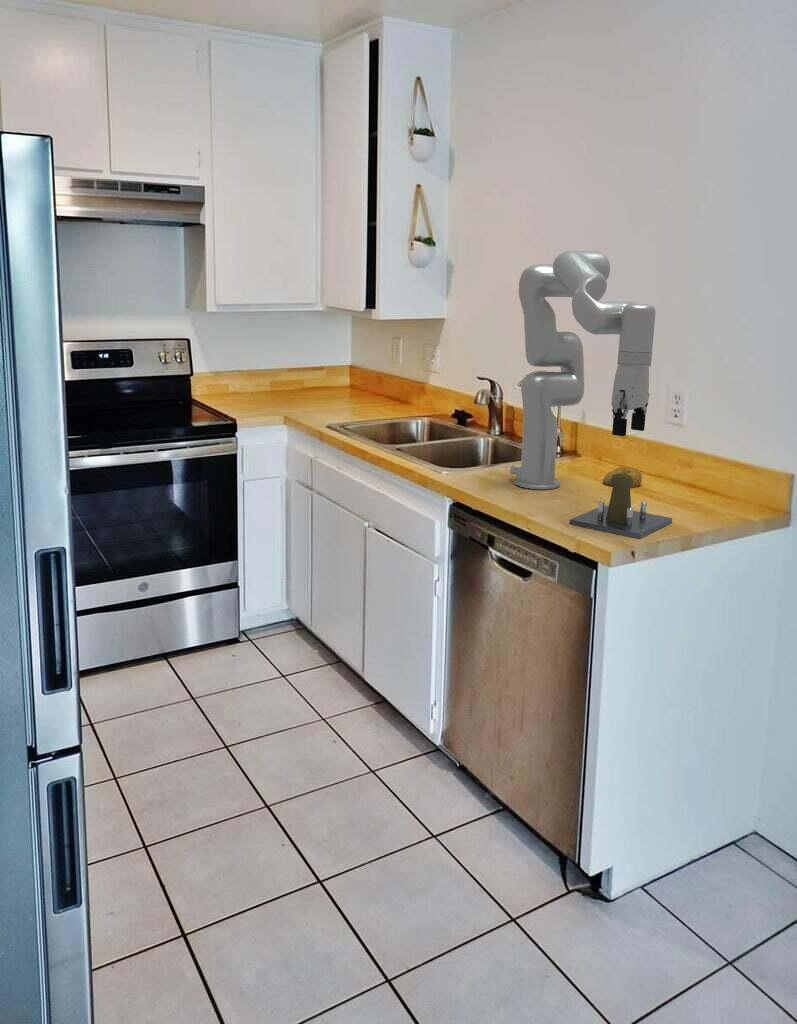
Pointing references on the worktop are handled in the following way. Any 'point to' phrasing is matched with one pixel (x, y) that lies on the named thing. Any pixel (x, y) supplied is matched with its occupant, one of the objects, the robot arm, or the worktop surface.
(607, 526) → the pin plate
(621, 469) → the bagel
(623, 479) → the olive tapered piece
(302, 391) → the worktop surface
